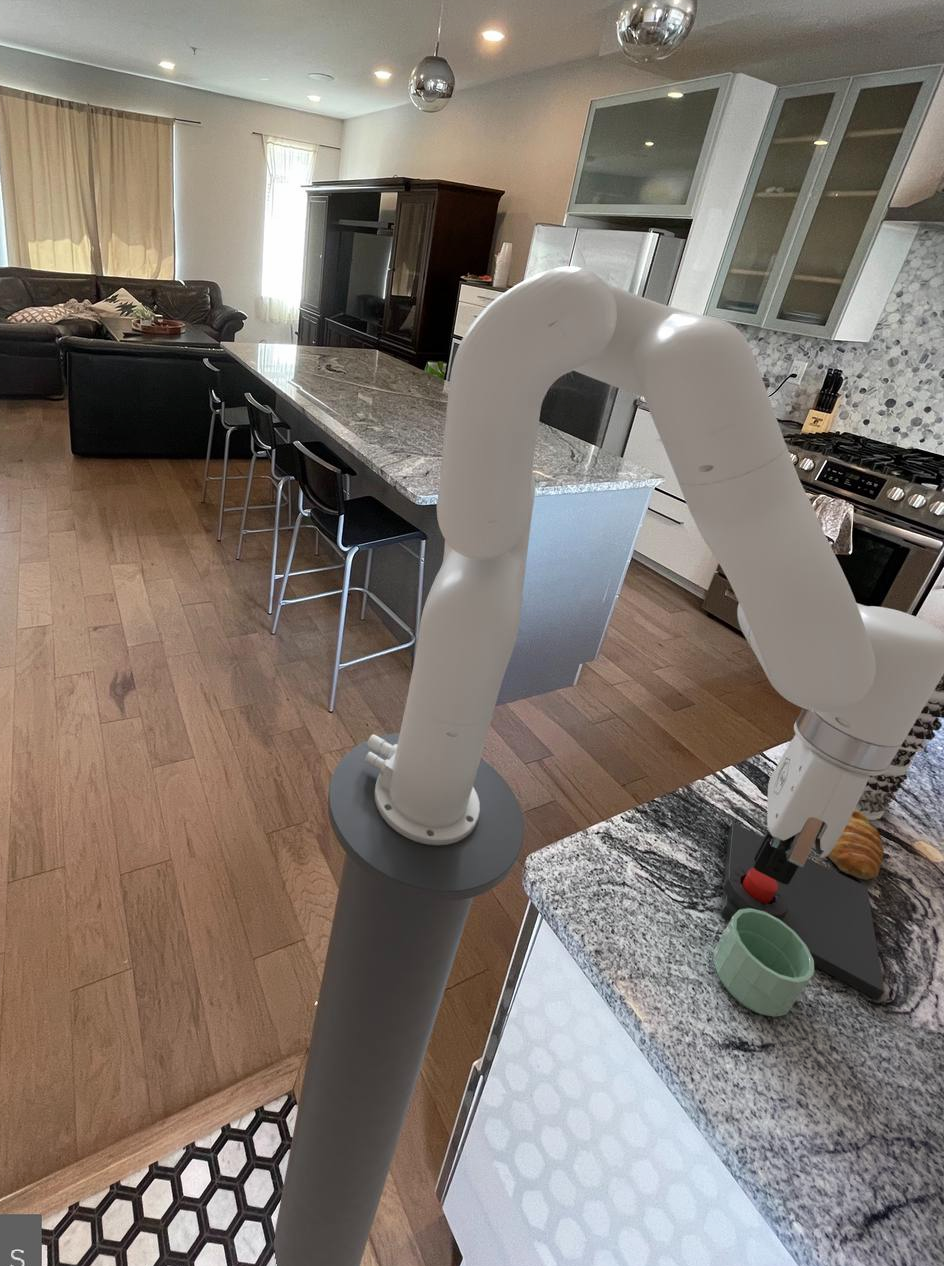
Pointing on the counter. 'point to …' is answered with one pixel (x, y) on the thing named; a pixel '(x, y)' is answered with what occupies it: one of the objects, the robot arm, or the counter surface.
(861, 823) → the pastry
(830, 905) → the scale
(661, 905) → the counter surface
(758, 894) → the button
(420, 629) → the robot arm
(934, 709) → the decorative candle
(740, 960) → the bowl
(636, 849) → the counter surface
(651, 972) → the counter surface
